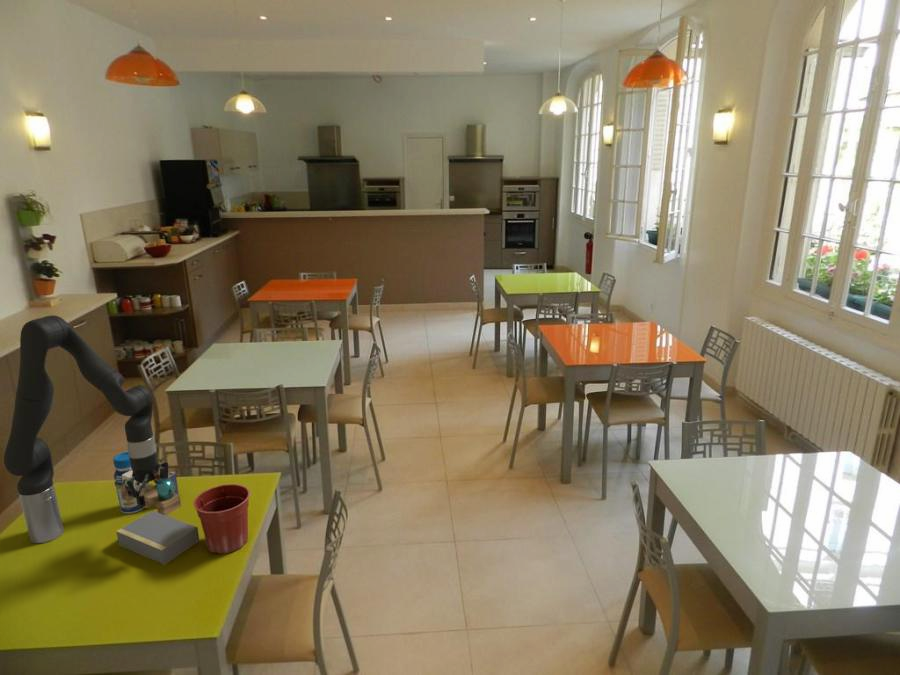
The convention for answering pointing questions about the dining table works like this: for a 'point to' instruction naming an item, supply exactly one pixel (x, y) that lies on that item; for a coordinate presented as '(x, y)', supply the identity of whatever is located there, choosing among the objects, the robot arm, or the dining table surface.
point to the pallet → (155, 499)
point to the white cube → (128, 476)
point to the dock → (158, 537)
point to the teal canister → (164, 489)
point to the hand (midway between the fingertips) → (151, 500)
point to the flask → (173, 481)
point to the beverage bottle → (123, 467)
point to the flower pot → (224, 516)
